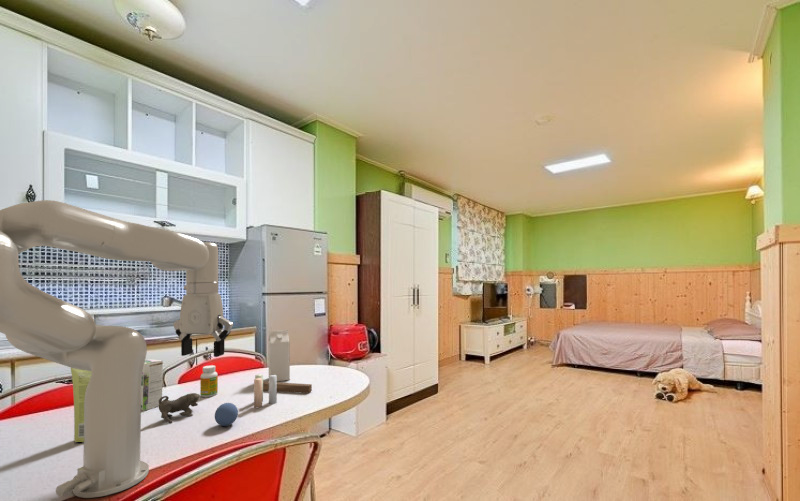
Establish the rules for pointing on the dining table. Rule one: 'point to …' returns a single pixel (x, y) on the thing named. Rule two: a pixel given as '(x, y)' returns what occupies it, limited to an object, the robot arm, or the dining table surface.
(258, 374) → the back pin left
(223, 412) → the ball
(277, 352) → the milk carton
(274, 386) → the back pin right
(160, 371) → the syrup box
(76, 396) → the tube
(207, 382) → the supplement bottle
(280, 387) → the brown bar
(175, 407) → the dog figurine
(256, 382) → the front pin
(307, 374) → the dining table surface
